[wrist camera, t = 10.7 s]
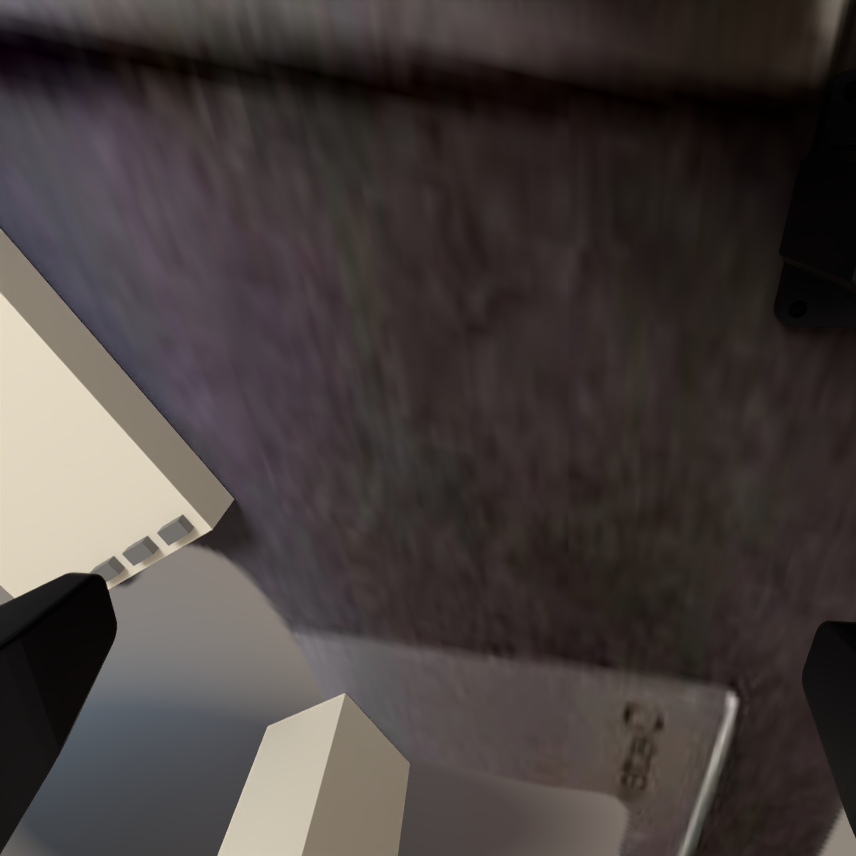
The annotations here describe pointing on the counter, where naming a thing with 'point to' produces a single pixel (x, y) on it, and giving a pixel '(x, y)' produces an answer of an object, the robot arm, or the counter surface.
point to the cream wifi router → (83, 450)
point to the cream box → (321, 788)
